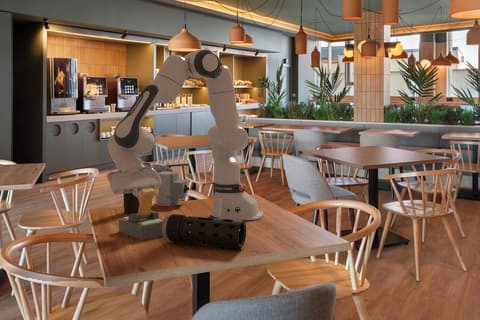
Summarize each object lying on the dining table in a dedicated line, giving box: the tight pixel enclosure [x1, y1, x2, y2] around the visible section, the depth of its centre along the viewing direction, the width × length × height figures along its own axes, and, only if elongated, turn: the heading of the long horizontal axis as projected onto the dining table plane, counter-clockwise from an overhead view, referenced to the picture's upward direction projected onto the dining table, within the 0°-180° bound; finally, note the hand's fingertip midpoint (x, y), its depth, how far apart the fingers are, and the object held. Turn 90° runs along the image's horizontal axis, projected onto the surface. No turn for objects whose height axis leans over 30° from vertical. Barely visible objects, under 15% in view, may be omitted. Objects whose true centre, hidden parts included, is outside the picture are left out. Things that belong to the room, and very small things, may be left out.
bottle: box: [122, 192, 140, 215], centre depth 225 cm, size 7×7×20 cm
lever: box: [136, 188, 156, 219], centre depth 191 cm, size 2×5×12 cm, turn 134°
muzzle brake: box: [162, 213, 247, 250], centre depth 177 cm, size 10×28×10 cm, turn 72°
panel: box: [118, 209, 165, 241], centre depth 193 cm, size 16×12×8 cm
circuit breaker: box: [156, 171, 190, 207], centre depth 241 cm, size 8×14×15 cm, turn 78°
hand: (143, 199), depth 191 cm, fingers closed, pressing on lever
